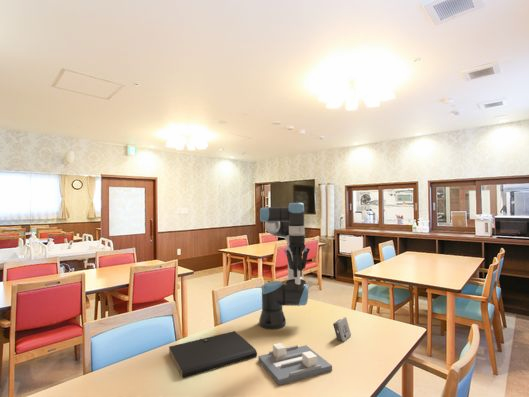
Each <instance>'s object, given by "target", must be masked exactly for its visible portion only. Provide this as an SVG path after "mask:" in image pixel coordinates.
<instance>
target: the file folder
mask: <svg viewBox="0 0 529 397" xmlns="http://www.w3.org/2000/svg"><path fill="white" fill-rule="evenodd" d="M168 350H169V351H168V353H169V354H168V355H169V356H170V355H171V356H170V358H171V360H172V361H174V362H173V363H175V364H174V365H175V367H176V369H177V368H178V369H177V370H179V371H178V373H179V375H180V376H181V378H182V379H184V378H188V377H192V376H195V375H199V374H201V373H205V372H208V371H211V370H215V369H219V368H222V367H225V366H229V365H231V364H236V363H238V362H242V361H247V360H248V359H253V358H256V357H257V356H258V352H257V350H256V348H255V346H253V345H251V343H249V342H248V341H247V340H246V339H245V338H243V337H242V336H241V335H240V334H239V333H238V332H237V331H234V330H233V331H229V332H226V333H221V334H217V335H211V336H209V337H204V338H200V339H195V340H192V341H186V342H184V343H183V342H182V343H180V344H179V343H178V344H175V345H171V346H168Z"/></svg>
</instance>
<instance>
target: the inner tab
mask: <svg viewBox="0 0 529 397" xmlns="http://www.w3.org/2000/svg"><path fill="white" fill-rule="evenodd" d="M286 348H287V346H285V344H283V343H282V342H278V343H275V344H272V351H273V354H274V355H275V356H276V357H277V358H280V357H284V356H286Z"/></svg>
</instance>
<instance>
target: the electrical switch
mask: <svg viewBox="0 0 529 397" xmlns="http://www.w3.org/2000/svg"><path fill="white" fill-rule="evenodd" d="M332 325H333V328H334V332H335V337H336V340H337V341H341V342H342V343H343V342H346V341H347V340H348V339H349V338H350V337H351V336H352V333H351V329H350V326H349V323H348V319H347V317H342V318H341V319H338V320H337V321H335V322H333V324H332Z"/></svg>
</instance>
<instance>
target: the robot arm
mask: <svg viewBox="0 0 529 397" xmlns="http://www.w3.org/2000/svg"><path fill="white" fill-rule="evenodd" d="M259 220H260V222H263V223H264V228H265V230H266V232H267V233H268V234H270V235H272V236H275V237H279V238H280V237H282V238H283V237H284V240H285V241H286V244H287V245H286V246H287V247H286V249H284V253H285V256H286V258H287V279H286V280H285V284H283V282H282V281H280V280H279V281H278V280H273V281H268V282H265V283H264V284H262V286H261V313H260V316H259V319H258V320H259V321H258V324H259V326H260V327H261V328H264V329H268V330H275V329H280V328H283V327H286V324H287V321H286V320H287V318H286V317H285V313H284V311H283V307H284V306H287V307H288V306H290V307H292V306H295V307H296V306H297V307H300V306H306V305H307V304H308V300H309V299H308V298H309V287H310V286H309V284H307V282H306V280H305V279H304V276H303V272H304V271H303V270H304V269H305V268H306V266H307V261H308V260H307V259H308V256H309V255H308V254H309V252H310V251H311V250H310V248H309V247H307V246H306V245H305V242H306V238H305V236H306V230H305V204H304V203H303V202H290V203H289V204H288V206H281V207H278V206H274V207H273V206H272V207H268V206H266V207H261V208H260V209H259Z"/></svg>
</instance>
